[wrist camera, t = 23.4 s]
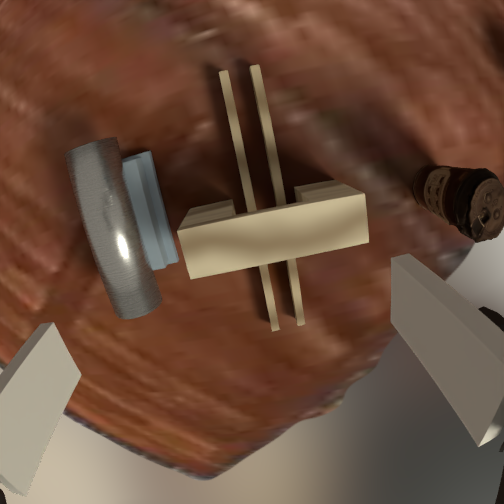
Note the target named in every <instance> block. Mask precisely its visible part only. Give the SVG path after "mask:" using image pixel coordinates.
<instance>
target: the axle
mask: <svg viewBox="0 0 504 504" xmlns="http://www.w3.org/2000/svg"><path fill="white" fill-rule="evenodd" d="M64 156H65V160H66V164H67V168H68V173H69V177H70V181H71V184H72V188H73V192H74V196H75V199H76V203H77V206H78V210H79V213H80V216H81V220H82V223H83V226H84V229H85V233H86V236H87V239H88V242H89V245H90V248H91V251H92V254H93V257H94V259H95V262H96V265H97V268H98V271H99V273H100V276H101V279H102V281H103V284H104V287H105V289H106V292H107V294H108V297H109V299H110V302H111V304H112V307H113V309H114V311H115V314H116V316H117V317H118V318H121V319H133V318H137V317H141V316H143V315H146V314H148V313H150V312H151V311H153V310H154V309H156V308H157V307H158V306H159V305H160V304H161V302H162V296H161V293H160V290H159V287H158V284H157V281H156V278H155V275H154V272H153V269H152V266H151V263H150V260H149V257H148V254H147V250H146V247H145V244H144V241H143V237H142V234H141V231H140V227H139V224H138V220H137V217H136V213H135V210H134V206H133V202H132V199H131V195H130V191H129V187H128V183H127V180H126V176H125V172H124V167H123V163H122V159H121V155H120V151H119V146H118V142H117V137H111V138H106V139H102V140H98V141H95V142H91V143H88V144H85V145H82V146H80V147H77V148H74V149H72V150H70V151H68V152H66V153H65V154H64Z"/></svg>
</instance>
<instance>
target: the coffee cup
mask: <svg viewBox="0 0 504 504" xmlns="http://www.w3.org/2000/svg"><path fill="white" fill-rule="evenodd" d="M413 189H414V195H415V198H416V200H417V201H418V203H419V205H420V206H422V207H423V208H424V209H425V210H429V211H430V212H431V213H433V214H435V215H437V216H438V217H440V218H441V219H442V220H443V221H445V222H446V223H447V224H449V225H454V226H456V227H457V228H458V230H459V231H460V233H462V234H464V235H465V236H467V237H469V238H471V239H473V240H474V241H475V243H478V242H481V241H485V240H487V239H488V240H492V239H493V238H496V237H497V236H498V235H499V234H500V233H501V231H502V229H503V227H504V187H503V186H502V185H501V183H500V181H499V179H498V177H497V176H496V175H495V174H494V173H493V172H491V171H489V170H488V169H486V168H483V169H482V168H478V169H471V168H458V167H450V166H433V165H426V166H424V167H423V168H422V169H421V170H420V171H419V172H418V173H417V175H416V177H415V181H414V187H413Z"/></svg>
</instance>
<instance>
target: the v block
mask: <svg viewBox="0 0 504 504" xmlns="http://www.w3.org/2000/svg"><path fill="white" fill-rule="evenodd" d="M122 163H123V167H124V172H125V176H126V180H127V183H128V187H129V191H130V195H131V199H132V202H133V206H134V210H135V213H136V217H137V220H138V224H139V227H140V231H141V234H142V237H143V241H144V244H145V247H146V250H147V254H148V257H149V260H150V263H151V266H152V269H153V270H157V269H162V268H166V265H167V264H171V263H175V262H178V260H179V257H178V254H177V251H176V247H175V244H174V240H173V236H172V233H171V229H170V225H169V222H168V218H167V214H166V211H165V207H164V203H163V199H162V195H161V191H160V187H159V183H158V179H157V175H156V171H155V167H154V163H153V158H152V154H151V151H148V152H144V153H141V154H137V155H134V156H130V157H127V158H124V159H122Z"/></svg>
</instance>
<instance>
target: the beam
mask: <svg viewBox="0 0 504 504" xmlns="http://www.w3.org/2000/svg"><path fill="white" fill-rule="evenodd" d="M249 71H250V76H251V80H252V85H253V90H254V94H255V99H256V104H257V109H258V114H259V118H260V123H261V128H262V133H263V138H264V143H265V149H266V154H267V159H268V164H269V169H270V174H271V180H272V185H273V190H274V196H275V201H276V207H272V208H267V209H262V210H256V205H255V200H254V195H253V190H252V185H251V180H250V175H249V170H248V165H247V160H246V156H245V151H244V146H243V141H242V136H241V131H240V126H239V122H238V117H237V112H236V107H235V102H234V98H233V93H232V88H231V83H230V79H229V74H228V70H226V71H221V72H219V76H220V80H221V85H222V90H223V95H224V99H225V104H226V109H227V114H228V119H229V123H230V128H231V133H232V138H233V142H234V147H235V152H236V157H237V162H238V166H239V171H240V176H241V181H242V186H243V191H244V195H245V200H246V205H247V210H248V212H247V213H242V214H238V215H236V213H235V209H234V204H233V200H232V199H231V200H227V201H222V202H217V203H213V204H208V205H204V206H199V207H195V208H191V209H189V211H188V213H187V214H186V216H185V218H184V220H183V221H182V223H181V225H180V227H179V228H178V230H177V233H178V236H179V240H180V244H181V247H182V251H183V254H184V258H185V261H186V265H187V268H188V272H189V275H190V279H195V278H200V277H205V276H210V275H215V274H220V273H225V272H230V271H235V270H240V269H245V268H250V267H254V266H259V268H260V273H261V278H262V283H263V288H264V293H265V298H266V303H267V307H268V312H269V317H270V322H271V327H272V331H276V330H280V329H279V324H278V318H277V313H276V308H275V303H274V297H273V292H272V287H271V282H270V276H269V271H268V266H267V264H269V263H274V262H279V261H284V260H286V264H287V270H288V276H289V282H290V288H291V294H292V301H293V307H294V313H295V319H296V322H297V325H298V326H300V325H304V324H305V320H304V313H303V306H302V299H301V292H300V285H299V279H298V272H297V266H296V259H295V258H298V257H303V256H308V255H312V254H317V253H322V252H326V251H331V250H336V249H341V248H345V247H350V246H355V245H359V244H364V243H368V242H369V235H368V222H367V211H366V201H365V193H362V192H360V191H358V190H356V189H354V188H352V187H350V186H347V185H345V184H343V183H341V182H339V181H337V180H331V181H325V182H320V183H314V184H308V185H303V186H297V187H294V191H295V196H296V202H297V203H293V204H287V205H286V199H285V193H284V187H283V182H282V176H281V171H280V165H279V160H278V155H277V150H276V144H275V139H274V134H273V129H272V124H271V119H270V114H269V109H268V104H267V99H266V95H265V90H264V85H263V80H262V76H261V71H260V67H259V65H253V66H250V69H249Z"/></svg>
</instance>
